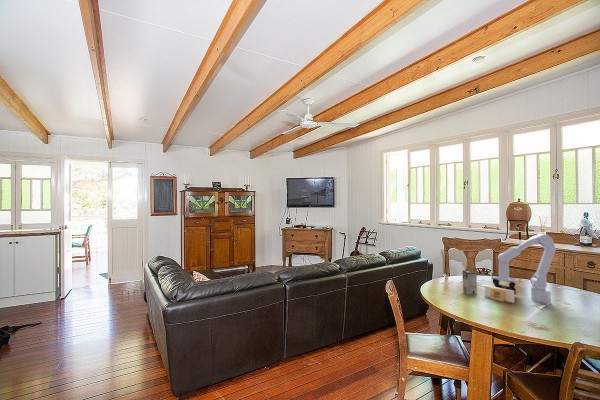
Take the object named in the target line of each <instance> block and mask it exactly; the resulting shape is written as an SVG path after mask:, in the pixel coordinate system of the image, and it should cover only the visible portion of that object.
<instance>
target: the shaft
mask: <svg viewBox="0 0 600 400" xmlns="http://www.w3.org/2000/svg"><path fill="white" fill-rule="evenodd" d="M499 288H503V289H508V290H510V287H509V285H506V284H500V283H499ZM513 291H514V296H515V295H517V287H516V286H514V288H513ZM494 294H495V295H498V294H500V292H495V293H494Z"/></svg>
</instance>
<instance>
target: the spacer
mask: <svg viewBox="0 0 600 400" xmlns="http://www.w3.org/2000/svg"><path fill="white" fill-rule="evenodd" d="M495 291H496V292H500V298H499V297H495V294H494V293H495ZM490 299H491V300H495V301H500V302H502V303H504V302H505V301H504V290H501V289H496V288H491V298H490Z"/></svg>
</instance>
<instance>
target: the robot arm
mask: <svg viewBox="0 0 600 400" xmlns="http://www.w3.org/2000/svg"><path fill="white" fill-rule="evenodd" d="M533 245H541V246H542V248H543V249H544V250H543V252H542V253H543V254H542V256H541V259H540V261H539V264H538V267H537V269H536V271H535V273H534V274H533V275H532V277H531V278H530V279H529V282H530V284H531V286H530V297H531V301H534V302H537V303H543V304H542V306H546V307H548V306H549V305H551V304H552V299H551V298H552V297H551V296H552V293H551V291H550V290H548V289H546V288H547V285H548V284H547V281H548V280H547V279H548V278H547V275H548V273H549V270H550V267H551V264H552V261H553V259H554V256H555V254H556V251H557V248H556V246H555V242H554V239H553V238H552V237H551V236H550V235H548V234H545V233H540V232H539V233H537V234H535V235H533V236H531V237H529V238H528V239H527V240H525V241H524V242H522V243H520V244H519V245H517V246H510V247H509V248H508V249H507V250H505V251H502V253H499V254H498V256H497V260H498V276H496V275H495V276H494V275H492V276H490V277H491V278H490V279H491V280H492V283H493V285H494V287H498V288H499V284H500V281H501V282H505V283H506V282H507V283H508V286H509V287H510V290H513V288H514V287H516V285H517V284H518V279H513V278H510V265H509V263H510V260H513V259H514V258H515V257H518V256H519V255H520V254H521V252H522V251H523V250H525V249H527V248H529V247H531V246H533Z"/></svg>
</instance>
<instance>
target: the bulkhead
mask: <svg viewBox="0 0 600 400" xmlns="http://www.w3.org/2000/svg"><path fill="white" fill-rule="evenodd" d="M491 288H496V289H501V290H504V302H507V303H513V304H514V303H515V295H514V291H513V290H508V289H503V288H498V287H495V286H492V285H489V284H488V285H487V284H485V285H484V297H486V298H490V299H491ZM495 292H496V291H495ZM495 297H499V298H500V294H498V295H495Z"/></svg>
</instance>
